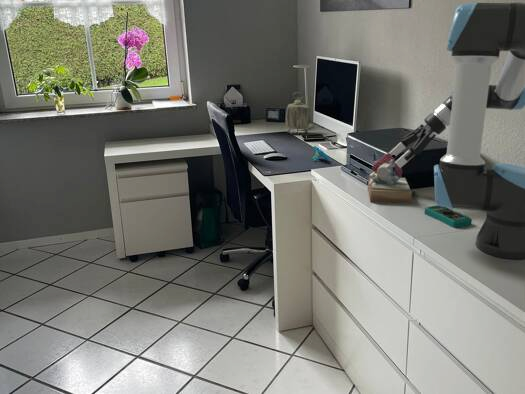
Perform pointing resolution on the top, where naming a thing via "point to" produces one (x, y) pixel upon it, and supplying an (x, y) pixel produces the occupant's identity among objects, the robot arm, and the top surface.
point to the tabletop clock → (297, 115)
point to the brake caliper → (385, 171)
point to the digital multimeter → (448, 216)
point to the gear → (320, 154)
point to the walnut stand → (390, 192)
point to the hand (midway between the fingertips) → (393, 160)
